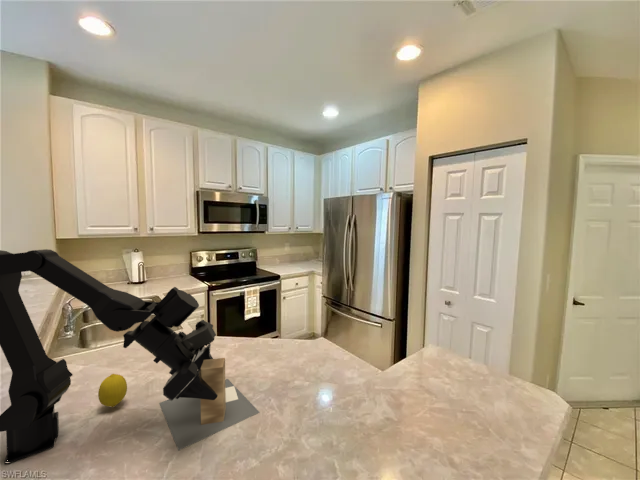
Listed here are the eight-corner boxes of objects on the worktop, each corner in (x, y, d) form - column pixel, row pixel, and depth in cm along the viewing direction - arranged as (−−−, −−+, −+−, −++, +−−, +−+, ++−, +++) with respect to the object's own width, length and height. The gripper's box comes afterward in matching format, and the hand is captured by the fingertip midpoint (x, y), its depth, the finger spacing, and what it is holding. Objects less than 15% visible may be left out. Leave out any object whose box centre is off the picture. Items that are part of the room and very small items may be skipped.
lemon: (93, 410, 65) (93, 376, 65) (120, 397, 70) (119, 366, 70) (106, 417, 62) (105, 382, 62) (132, 403, 67) (131, 371, 67)
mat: (178, 453, 52) (178, 450, 52) (159, 405, 67) (159, 402, 67) (259, 414, 63) (259, 412, 63) (227, 380, 78) (227, 378, 78)
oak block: (200, 424, 59) (200, 369, 59) (204, 411, 63) (203, 359, 63) (223, 421, 60) (222, 367, 60) (225, 408, 64) (225, 357, 64)
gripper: (180, 328, 51) (243, 379, 54) (199, 303, 69) (245, 342, 72) (133, 375, 49) (200, 425, 52) (166, 337, 68) (214, 375, 70)
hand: (218, 385), depth 62 cm, fingers open, 9 cm apart
